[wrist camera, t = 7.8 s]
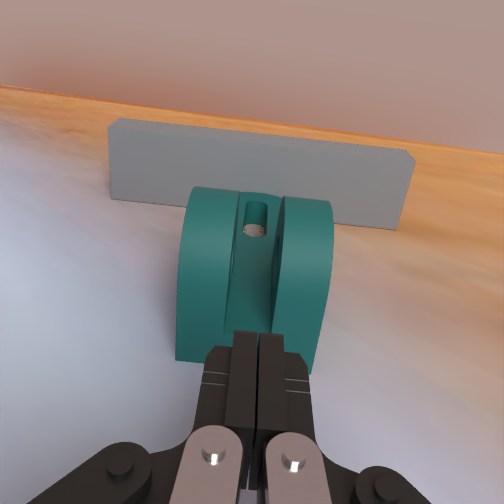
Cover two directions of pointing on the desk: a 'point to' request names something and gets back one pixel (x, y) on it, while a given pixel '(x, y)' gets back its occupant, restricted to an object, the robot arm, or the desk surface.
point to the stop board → (257, 169)
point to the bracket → (252, 271)
